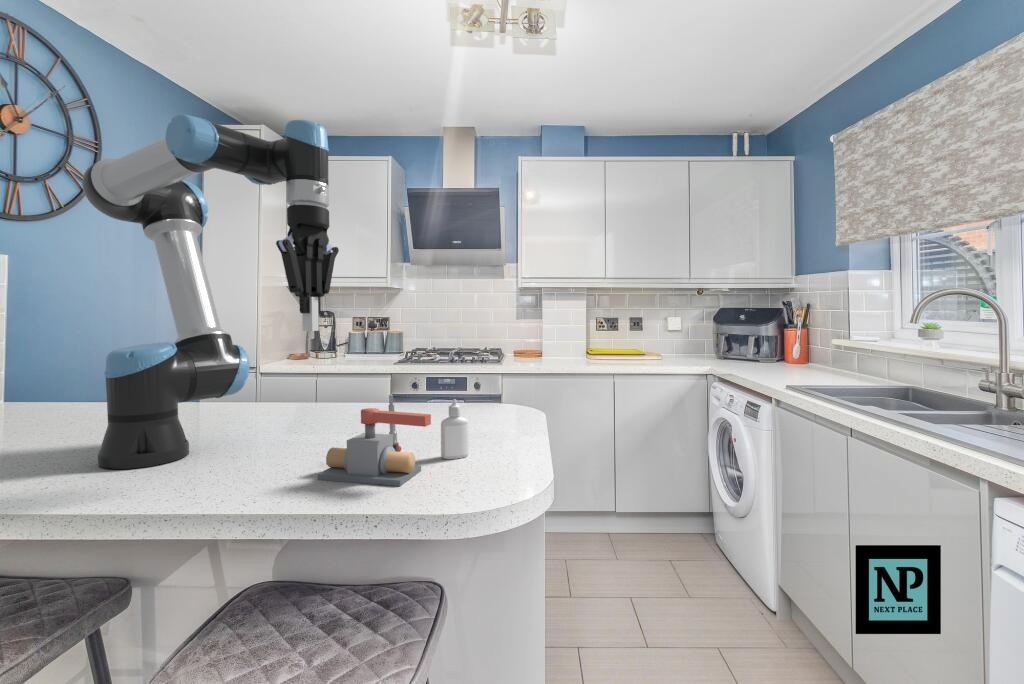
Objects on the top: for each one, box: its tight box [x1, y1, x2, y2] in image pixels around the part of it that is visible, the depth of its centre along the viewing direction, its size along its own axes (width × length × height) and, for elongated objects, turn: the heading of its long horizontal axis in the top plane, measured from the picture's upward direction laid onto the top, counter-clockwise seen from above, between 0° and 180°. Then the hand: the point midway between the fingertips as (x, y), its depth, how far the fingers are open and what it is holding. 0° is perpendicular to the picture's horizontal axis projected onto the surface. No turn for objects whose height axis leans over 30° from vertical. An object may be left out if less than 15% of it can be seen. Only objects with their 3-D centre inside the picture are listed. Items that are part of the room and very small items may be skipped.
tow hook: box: [388, 394, 402, 452], centre depth 107 cm, size 8×13×9 cm
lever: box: [360, 407, 432, 427], centre depth 92 cm, size 14×3×2 cm, turn 70°
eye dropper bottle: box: [440, 399, 470, 460], centre depth 106 cm, size 4×6×12 cm
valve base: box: [317, 423, 422, 487], centre depth 94 cm, size 16×9×10 cm, turn 77°
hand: (310, 330), depth 99 cm, fingers closed
